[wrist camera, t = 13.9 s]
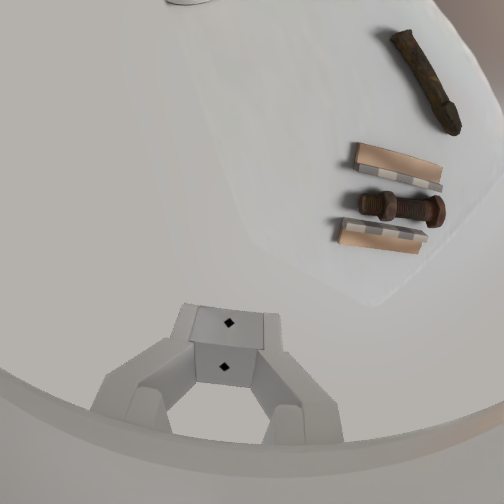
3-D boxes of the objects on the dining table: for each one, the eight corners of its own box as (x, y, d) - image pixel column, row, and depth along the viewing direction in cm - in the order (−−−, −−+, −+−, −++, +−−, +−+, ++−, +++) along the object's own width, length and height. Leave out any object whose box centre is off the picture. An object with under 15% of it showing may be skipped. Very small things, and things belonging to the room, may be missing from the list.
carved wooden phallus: (384, 38, 29) (397, 31, 25) (402, 32, 28) (415, 25, 23) (437, 140, 36) (453, 144, 31) (452, 131, 34) (468, 135, 30)
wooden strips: (357, 142, 37) (363, 144, 35) (439, 165, 37) (446, 168, 35) (337, 240, 44) (341, 247, 42) (414, 251, 45) (420, 257, 42)
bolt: (354, 192, 42) (428, 201, 42) (354, 223, 42) (430, 229, 41) (365, 182, 37) (445, 194, 36) (367, 217, 36) (448, 225, 36)
